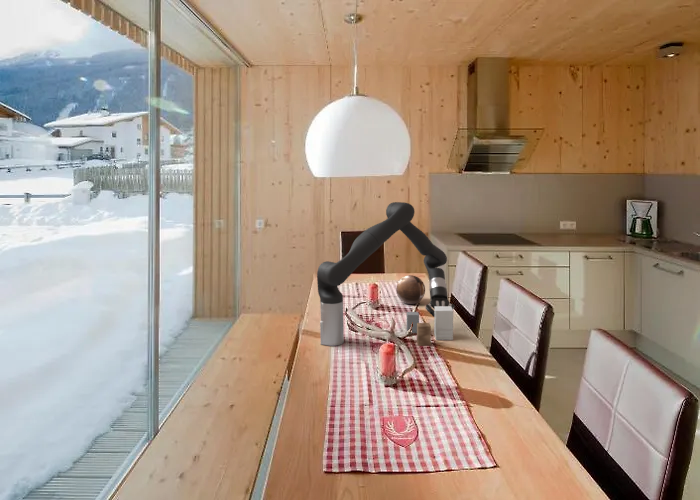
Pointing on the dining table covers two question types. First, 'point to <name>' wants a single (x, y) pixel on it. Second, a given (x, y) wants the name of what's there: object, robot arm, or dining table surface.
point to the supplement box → (443, 322)
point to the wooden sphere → (410, 289)
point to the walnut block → (423, 334)
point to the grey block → (412, 318)
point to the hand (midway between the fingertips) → (441, 324)
